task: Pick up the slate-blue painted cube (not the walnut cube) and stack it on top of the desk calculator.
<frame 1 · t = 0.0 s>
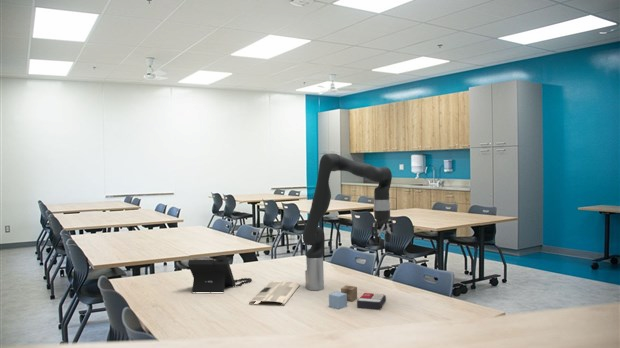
hand: (382, 243, 214), 29 cm above the table, tool pointing down, fingers open, 8 cm apart
office phone: (222, 287, 255), on the table
slate block: (338, 306, 213), on the table
newspaper: (277, 296, 236), on the table
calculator: (371, 305, 216), on the table
walnut block: (349, 299, 224), on the table
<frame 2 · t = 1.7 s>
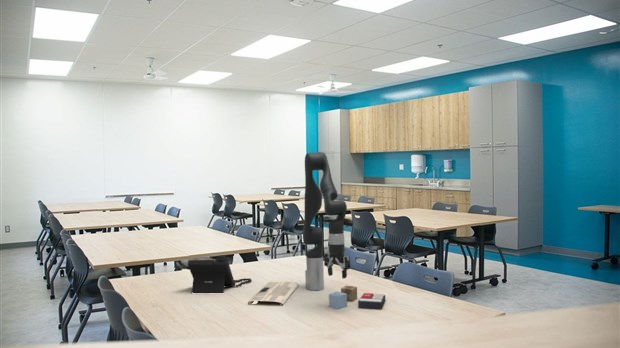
hand: (337, 276, 213), 14 cm above the table, tool pointing down, fingers open, 8 cm apart
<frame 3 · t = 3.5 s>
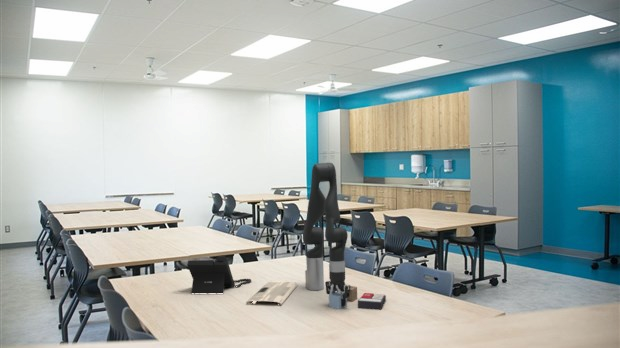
hand: (338, 305, 213), 1 cm above the table, tool pointing down, fingers closed on slate block, 6 cm apart
slate block: (338, 306, 213), on the table, touching gripper
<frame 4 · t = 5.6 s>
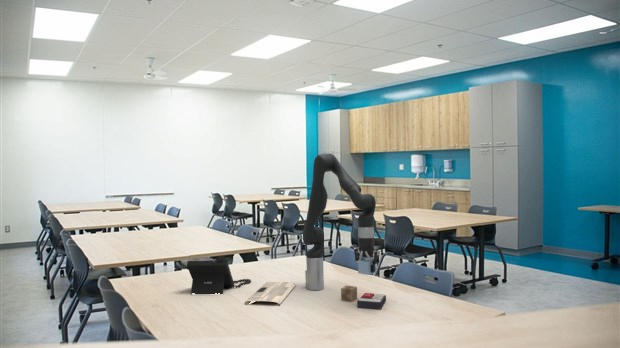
hand: (367, 271, 214), 16 cm above the table, tool pointing down, fingers closed on slate block, 6 cm apart
slate block: (367, 272, 214), point 15 cm above the table, touching gripper
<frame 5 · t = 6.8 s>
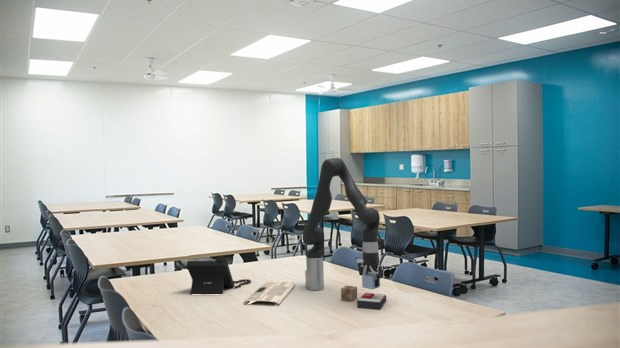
hand: (371, 285, 215), 9 cm above the table, tool pointing down, fingers closed on slate block, 6 cm apart
slate block: (371, 287, 215), point 8 cm above the table, touching gripper
when the fingers open (6 cm above the table, at t = 7.8 s): slate block drops 2 cm, resting on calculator.
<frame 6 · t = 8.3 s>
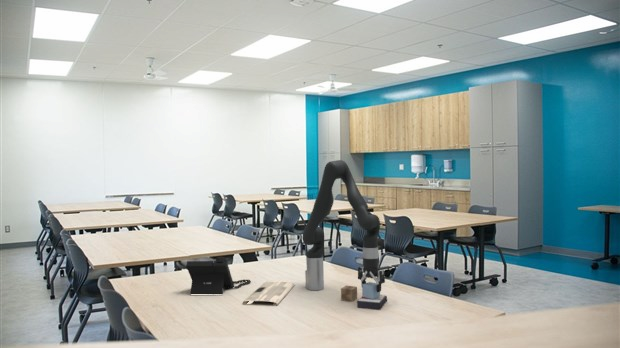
hand: (371, 290, 215), 7 cm above the table, tool pointing down, fingers open, 8 cm apart
slate block: (371, 296, 216), point 4 cm above the table, touching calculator
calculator: (372, 305, 216), on the table, touching slate block
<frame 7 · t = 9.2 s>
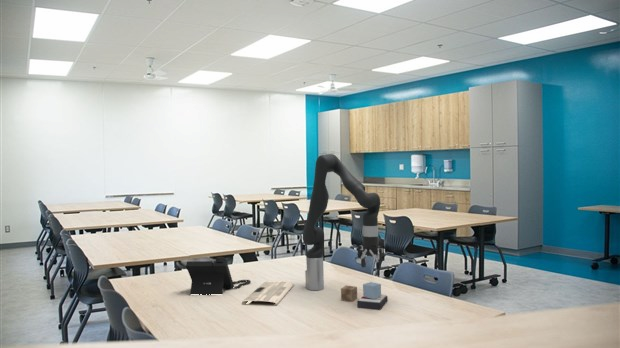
hand: (370, 268, 215), 17 cm above the table, tool pointing down, fingers open, 8 cm apart
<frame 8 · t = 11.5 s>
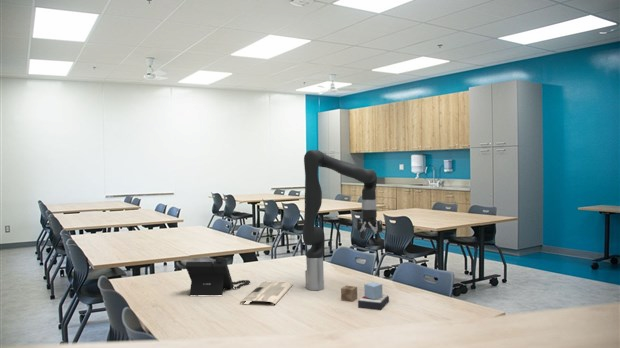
hand: (369, 239, 231), 28 cm above the table, tool pointing down, fingers open, 8 cm apart
at the end: slate block inside the target area on the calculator (0.3 cm from its centre), point 4.4 cm above the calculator's base; slate block touching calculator; the gripper is holding nothing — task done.
